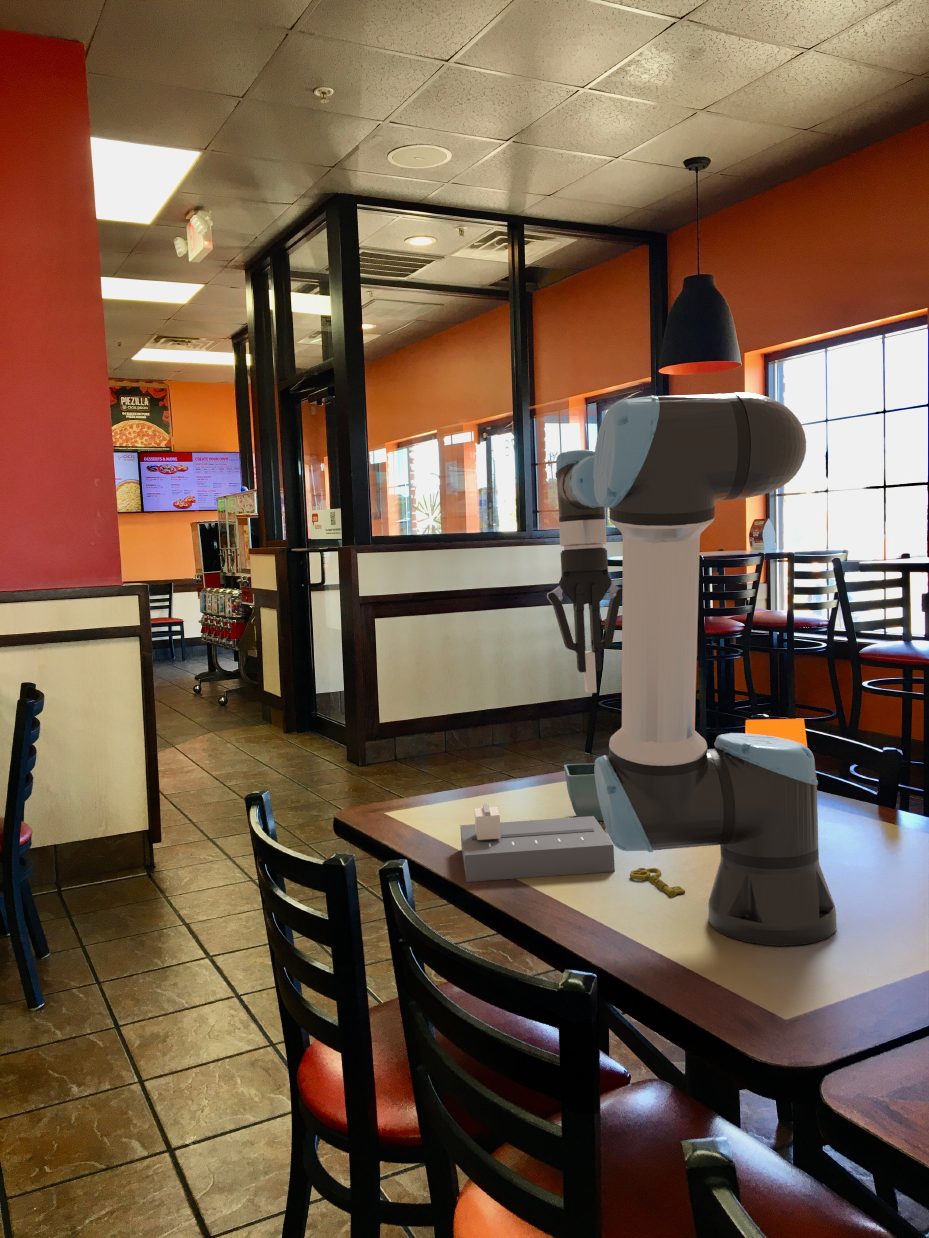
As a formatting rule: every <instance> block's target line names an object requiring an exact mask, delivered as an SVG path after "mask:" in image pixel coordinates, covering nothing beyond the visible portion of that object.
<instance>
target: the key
mask: <svg viewBox="0 0 929 1238" xmlns="http://www.w3.org/2000/svg"><path fill="white" fill-rule="evenodd" d="M651 873H655V874H652V875H651ZM661 876H662V871H661V869H659V868H656V867H653V868H652V867H650V868H644V867H640V868H637V869H635V870H631V872H630V873H629V877H630V879H632V880H639V881H640V880H643V881H648V882H650V883H651V885H652V884H653V885H654V886H655V887H656V888H657V889H658V890H660V891H661V892H664V893H665V894H667V895H668V897H669V898H672V897H676V896H677V895H679V894H685V893H686V890H685V889H684V888H683V887H682V886H669V885H668V884H667V883H666V882H665V881H663V880H662V879H660V877H661Z"/></svg>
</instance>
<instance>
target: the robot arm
mask: <svg viewBox="0 0 929 1238" xmlns="http://www.w3.org/2000/svg"><path fill="white" fill-rule="evenodd" d="M806 452H807V439H806V432H805V430H804V428H803V425H802V422H801V421H800V420H799V418H798V417H797V416H796V415H795V414H794V412H793V411H792V410H791V409H789V407H787V406H786V405H784V404H782V403H781V402H779V401H777V400H775V399H773V398H771V397H769V396H765V395H762V394H758V393H752V392H730V393H713V394H712V393H711V394H706V393H705V394H683V395H682V394H681V395H678V394H677V395H658V396H657V395H653V394H652V395H648V396H641V397H634V398H627V399H626V398H625V399H621V400H618V401H616V402H614V403H612V405H610V407H609V408H608V409H607V411H606V412H605V414H604V416H603V418H602V421H601V423H600V426H599V429H598V434H597V437H596V443H595V448H594V449H577V450H575V449H574V450H569V451H565V452H561V453H559V454H558V455H557V457H556V464H555V465H556V471H555V479H556V488H557V505H558V506H557V507H558V522H559V523H558V524H559V526H558V527H559V546H561V547H563V550H561V552H560V568H561V575H560V580H559V581H558V586H557V587H556V588H554V589H553V590H551V591H549V592H547V593H546V595H545V597H546V598H547V600H548V601H549V603H550V604H551V606H552V607H553V610H554V614H555V617H556V620H557V624H558V628H559V631H560V634H561V637H562V641H563V644H564V646H565V648H566V649H568V650H570V651H574V652H575V653H576V668H577V671H578V672H579V673H583V685H584V692H585V693H587V694H596V693H597V691H598V690H597V672H601V671H602V669H603V668H602V667H603V664H602V651H603V650H605V649H607V648H610V647H612V645H613V642H614V635H615V630H616V626H617V620H618V616H619V615H618V614H619V609H620V604H621V602H622V605H621V607H622V609H621V611H622V614H621V615H622V617H621V619H622V621H621V627H622V631H621V634H622V635H621V637H622V639H621V647H622V648H621V651H622V653H621V655H622V656H621V658H622V659H621V727H620V729H617V731H615V732H614V734H612V735H611V736H610V738H609V743H608V751H609V752H608V755H601V756H599V757H597V758H596V759H595V761H594V763H595V767H594V773H595V782H596V789H597V794H598V799H599V804H600V808H601V812H602V816H603V820H604V821H603V822H604V823H603V824H604V826H605V829H606V831H607V832H606V833H607V834H608V837H609V839H610V840H611V842H612V843H613V846H615V847H616V848H617V849H618V850H620V851H624V852H641V851H642V852H645V851H646V852H648V853H652V852H654V851H660V850H661V851H663V850H674V849H686V848H699V847H711V846H712V847H713V846H720V859H719V861H720V862H719V863H718V864H719V865H718V869H717V871H716V875H715V877H714V878H715V879H714V881H713V885H712V889H711V892H710V896H709V899H708V908H707V909H708V921H709V923H710V925H711V926H712V928H713V929H714V930H716V931H717V932H719V933H721V934H723V935H725V936H727V937H730V938H732V939H735V940H739V941H743V942H746V943H751V944H758V945H767V946H799V945H807V944H812V943H817V942H819V941H824V939H828V938H829V937H831V936H832V935H833V934H834V933H835V932H836V930H837V909H836V904H835V903H834V900H833V898H832V897H833V896H832V894H831V891H830V889H829V886H828V884H827V881H826V878H825V876H824V874H823V870H822V867H821V865H820V857H819V854H820V853H819V820H818V784H819V781H818V780H817V772H816V762H815V756H814V754H813V752H812V751H811V750H810V748H808V746H807V747H806V746H805V745H803V744H801V743H798V742H795V741H792V740H788V739H784V738H778V737H773V736H766V735H758V734H746V732H745V733H743V732H741V733H740V732H729V733H728V732H727V733H724V734H722V733H721V734H719V735H717V737H716V739H715V742H714V744H713V745H714V747H715V748H709V749H708V743H707V741H706V739H705V738H704V737H703V736H701V735H700V733H699V732H697V730H695V729H696V698H697V697H696V694H697V693H696V692H697V664H698V663H697V661H698V660H697V658H698V657H697V655H698V622H699V621H698V620H699V588H700V587H699V584H700V583H699V581H700V577H699V576H700V549H701V548H700V547H701V546H700V544H701V543H700V542H701V540H700V539H701V534H702V533H703V532H704V531H705V530H706V529H707V528H708V527H709V526H710V525H711V524H712V523H713V522H714V521H715V517H716V516H715V514H716V513H715V512H716V502H717V501H727V500H728V501H729V500H738V499H739V500H740V499H748V498H754V497H758V496H763V495H766V494H769V493H771V492H775V491H776V490H779V489H781V488H782V487H784V486H785V485H786V484H788V483H789V482H790V481H791V480H792V479H794V477H795V476H797V474H798V473H799V470H801V467H802V466H803V463H804V461H805V457H806ZM605 508H606V509H608V511H609V512H608V513H609V514H608V516H609V517H608V519H609V522H610V523H611V524H612V525H613V526H614V527H615V528H616V529H618V531H619V532H620V533H621V535H622V587H619V586H617V585H616V584H614V583H612V581H613V580H612V578H611V576H610V574H609V567H608V566H609V565H608V564H609V563H608V549H607V548H606V547H604V545H606V544H607V526H606V509H605ZM608 590H609V592H608ZM607 592H608V596H609V598H610V600H609V603H608V608H607V613H606V618H605V623H604V629H603V635H601V615H600V610H601V601H602V600H603V599H604V597H605V595H606V594H607ZM563 594H564V595H565V596H566V597H567V599H568V600H569V601H570V603H572V607H573V608H572V609H573V620H574V622H573V623H574V639H575V640H574V639H573V636H572V634H571V630H570V627H569V626H570V625H569V622H568V619H567V616H566V612H565V609H564V605H563V604H562V601H563V599H564V598H563ZM587 604H588V610H589V627H590V629H589V632H590V646H591V647H590V648H591V651H590V650H588V651H586V632H585V630H586V629H585V627H586V626H585V605H587ZM574 641H575V642H574Z"/></svg>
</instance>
